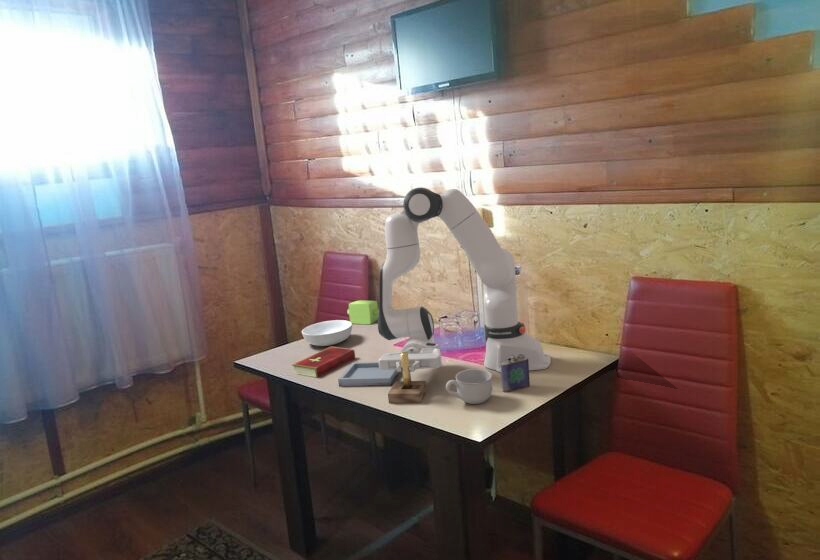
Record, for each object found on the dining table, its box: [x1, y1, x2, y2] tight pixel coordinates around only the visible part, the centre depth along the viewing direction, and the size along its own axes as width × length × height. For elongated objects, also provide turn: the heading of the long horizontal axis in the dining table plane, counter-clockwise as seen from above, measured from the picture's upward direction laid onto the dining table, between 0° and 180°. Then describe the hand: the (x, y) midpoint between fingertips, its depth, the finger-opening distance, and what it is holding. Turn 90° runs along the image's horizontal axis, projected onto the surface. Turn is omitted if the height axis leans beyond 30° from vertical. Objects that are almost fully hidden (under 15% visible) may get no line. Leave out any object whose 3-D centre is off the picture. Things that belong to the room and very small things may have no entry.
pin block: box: [387, 380, 428, 404], centre depth 192 cm, size 10×10×3 cm
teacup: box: [445, 368, 493, 405], centre depth 183 cm, size 14×11×8 cm
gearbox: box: [346, 299, 379, 325], centre depth 283 cm, size 18×10×10 cm, turn 65°
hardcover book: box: [291, 345, 356, 378], centre depth 229 cm, size 12×21×4 cm, turn 144°
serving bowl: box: [301, 319, 353, 347], centre depth 257 cm, size 21×21×7 cm
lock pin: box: [400, 352, 412, 389], centre depth 191 cm, size 2×2×13 cm
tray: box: [337, 361, 400, 387], centre depth 212 cm, size 18×16×2 cm
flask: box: [500, 354, 531, 393], centre depth 188 cm, size 9×3×11 cm, turn 110°
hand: (405, 369), depth 189 cm, fingers closed on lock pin, 2 cm apart
